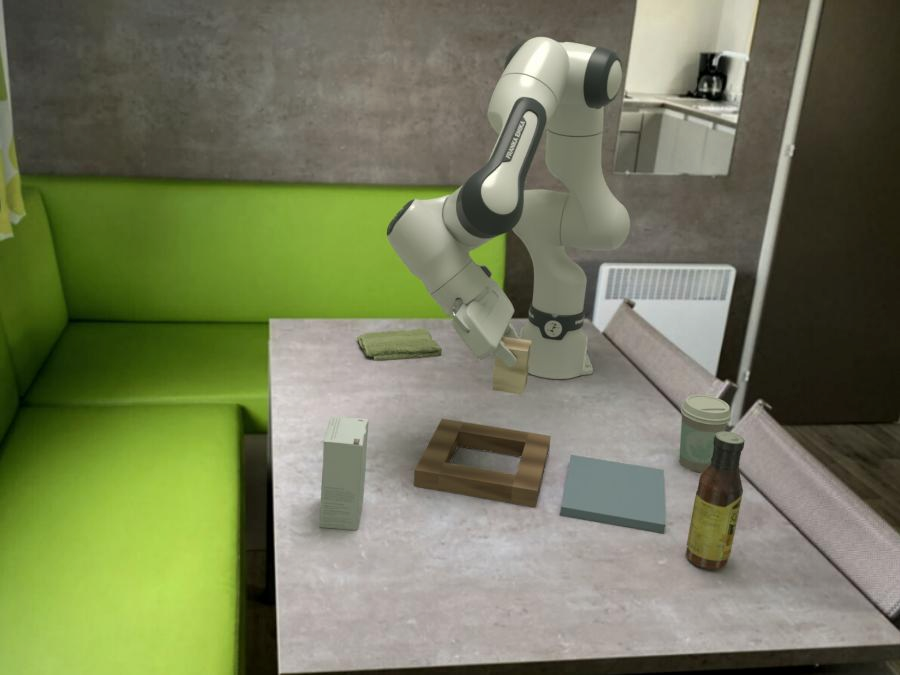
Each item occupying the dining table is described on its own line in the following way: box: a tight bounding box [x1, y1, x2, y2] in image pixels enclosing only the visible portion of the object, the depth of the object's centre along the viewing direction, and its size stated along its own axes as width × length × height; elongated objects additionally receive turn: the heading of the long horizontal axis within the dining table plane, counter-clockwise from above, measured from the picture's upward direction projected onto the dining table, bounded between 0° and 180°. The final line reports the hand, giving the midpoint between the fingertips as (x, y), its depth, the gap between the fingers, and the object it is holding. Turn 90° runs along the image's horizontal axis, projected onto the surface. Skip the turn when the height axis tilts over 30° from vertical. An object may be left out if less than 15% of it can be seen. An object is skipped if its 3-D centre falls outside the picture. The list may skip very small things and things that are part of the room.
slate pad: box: [559, 454, 666, 534], centre depth 143 cm, size 18×16×2 cm
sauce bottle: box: [685, 430, 745, 571], centre depth 125 cm, size 7×6×20 cm
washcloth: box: [357, 327, 443, 362], centre depth 198 cm, size 13×18×3 cm
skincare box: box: [319, 415, 369, 531], centre depth 129 cm, size 8×6×15 cm
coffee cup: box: [678, 394, 732, 473], centre depth 154 cm, size 9×9×12 cm
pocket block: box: [413, 417, 552, 508], centre depth 148 cm, size 20×20×3 cm
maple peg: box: [491, 336, 532, 395], centre depth 141 cm, size 5×5×8 cm
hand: (517, 356), depth 141 cm, fingers closed on maple peg, 5 cm apart
